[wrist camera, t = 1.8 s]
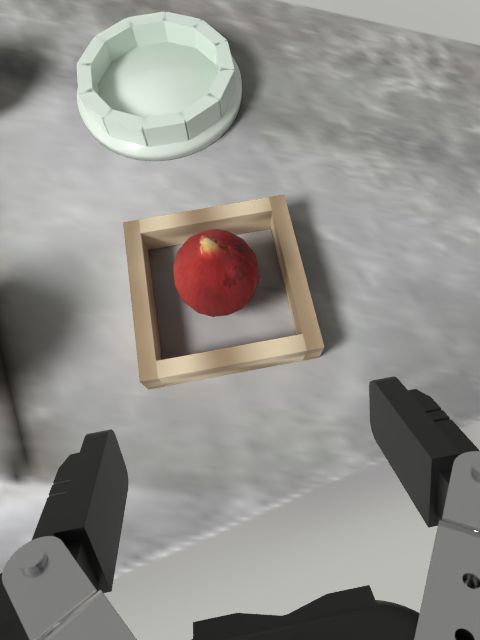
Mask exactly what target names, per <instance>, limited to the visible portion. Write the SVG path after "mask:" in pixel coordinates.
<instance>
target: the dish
mask: <svg viewBox="0 0 480 640" xmlns="http://www.w3.org/2000/svg"><path fill="white" fill-rule="evenodd" d="M77 79H78V90H77V102H78V108H79V111H80V114H81V116H82V119H83V121H84V123H85V125H86V127H87V128H88V130H89V132H90V133H91V134H92V136H93V137H94V138H95V139H96V140H97V141H98V142H99V143H100V144H101V145H103V146H104V147H106V148H107V149H109V150H111V151H113V152H115V153H117V154H119V155H122V156H125V157H128V158H132V159H137V160H145V161H163V160H172V159H176V158H181V157H185V156H188V155H190V154H193V153H196V152H198V151H200V150H202V149H204V148H206V147H207V146H209V145H211V144H212V143H214V142H215V141H216V140H217V139H219V138H220V137H221V136H222V135H223V134H224V133H225V132H226V131H227V130H228V129H229V127H230V126H231V125H232V123H233V122H234V120H235V118H236V117H237V115H238V112H239V109H240V106H241V101H242V80H241V73H240V71H239V68H238V65H237V63H236V61H235V60H234V58H233V57H232V56H231V53H230V49H229V45H228V41H227V40H226V39H225V38H224V37H223V36H221V35H220V34H219V33H218V32H217V31H215V30H214V29H213V28H212V27H211V26H209V25H208V24H207V23H206V22H204V21H203V20H202V21H201V19H197V18H193V17H188V16H184V15H179V14H175V13H170V12H166V14H165V12H159V13H153V14H146V15H140V16H133V17H128V19H127V18H125V19H123V20H122V21H120V22H118V23H117V24H115V25H113V26H111V27H110V28H108V29H106V30H105V31H103V32H101V33H99V34H98V35H96V37H94V38H93V39H92V41H91V43H90V44H89V46H88V47H87V49H86V50H85V52H84V53H83V55H82V56H81V58H80V59H79V61H78V63H77Z"/></svg>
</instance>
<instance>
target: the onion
mask: <svg viewBox="0 0 480 640" xmlns="http://www.w3.org/2000/svg"><path fill="white" fill-rule="evenodd" d="M173 272H174V283H175V287H176V289H177V291H178V293H179V295H180V297H181V298H182V300H183V301H184V302H185V303H186V304H187V305H189V306H190V307H191V308H193V309H194V310H195V311H196V312H198V313H201V314H205V315H209V316H212V317H215V316H224V315H229V314H231V313H234V312H236V311H238V310H240V309H242V308H243V307H244V306H245V305H246V304H247V302H248V301H249V300H250V299H251V298H252V297H253V294H254V292H255V289H256V286H257V284H258V281H259V278H260V276H259V270H258V263H257V258H256V255H255V253H254V252H253V251H252V250H251V248H250V247H249V246H248V244H247V243H246V242H245V241H244V240H243V239H241V238H240V237H238V236H236V235H234V234H232V233H231V232H229V231H225V230H219V229H211V230H205V231H201V232H199V233H197V234H195V235H193V236H191V237H189V238H188V239H187V240H186V242H185V243H184V244H183V245H182V247H181V248H180V249H179V251H178V253H177V256H176V259H175V262H174V266H173Z"/></svg>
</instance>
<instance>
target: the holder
mask: <svg viewBox="0 0 480 640" xmlns="http://www.w3.org/2000/svg"><path fill="white" fill-rule="evenodd" d="M123 225H124V234H125V244H126V253H127V263H128V272H129V282H130V292H131V301H132V311H133V320H134V330H135V339H136V349H137V358H138V368H139V377H140V382H141V383H142V384H143V385H144V386H145V387H146V388H148V389H153V388H158V387H164V386H169V385H174V384H180V383H185V382H190V381H196V380H201V379H206V378H212V377H217V376H222V375H228V374H233V373H238V372H244V371H249V370H254V369H260V368H265V367H270V366H276V365H281V364H286V363H292V362H297V361H302V360H308V359H313V358H318V357H320V355H321V353H322V351H323V349H324V344H323V340H322V336H321V332H320V328H319V325H318V321H317V317H316V313H315V309H314V306H313V302H312V298H311V294H310V291H309V287H308V283H307V279H306V275H305V272H304V268H303V264H302V260H301V256H300V253H299V249H298V245H297V241H296V238H295V234H294V230H293V226H292V222H291V219H290V215H289V211H288V207H287V204H286V200H285V196H284V195H279V196H274V197H268V198H262V199H256V200H250V201H245V202H239V203H233V204H227V205H221V206H216V207H210V208H204V209H198V210H192V211H187V212H181V213H175V214H169V215H163V216H158V217H152V218H146V219H140V220H134V221H129V222H123ZM270 228H271V232H272V236H273V240H274V244H275V248H276V252H277V256H278V260H279V264H280V269H281V273H282V277H283V281H284V285H285V289H286V293H287V297H288V301H289V305H290V310H291V314H292V318H293V322H294V326H295V330H296V334H297V335H294V336H288V337H283V338H277V339H272V340H267V341H261V342H256V343H250V344H245V345H240V346H234V347H229V348H223V349H218V350H213V351H207V352H202V353H196V354H191V355H186V356H180V357H175V358H169V359H164V360H162V356H161V348H160V340H159V332H158V324H157V316H156V308H155V300H154V292H153V284H152V276H151V268H150V260H149V252H148V250H151V249H156V248H162V247H168V246H173V245H179V244H184V243H185V242H186V240H187V239H188V238H189V237H191V236H193V235H195V234H197V233H199V232H201V231H205V230H211V229H219V230H225V231H229V232H231V233H232V234H234V235H236V234H242V233H248V232H253V231H259V230H265V229H270Z"/></svg>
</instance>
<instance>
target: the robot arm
mask: <svg viewBox="0 0 480 640" xmlns="http://www.w3.org/2000/svg"><path fill="white" fill-rule="evenodd" d="M369 397H370V424H371V429H372V433H373V436H374V438H375V440H376V442H377V444H378V445H379V447H380V449H381V450H382V452H383V454H384V455H385V457H386V458H387V460H388V462H389V463H390V465H391V467H392V468H393V470H394V471H395V473H396V475H397V477H398V478H399V480H400V482H401V483H402V485H403V486H404V488H405V490H406V491H407V493H408V495H409V496H410V498H411V500H412V501H413V503H414V505H415V506H416V508H417V509H418V511H419V513H420V514H421V516H422V518H423V519H424V521H425V523H426V524H427V526H428V527H433V526H438V528H437V533H436V537H435V542H434V547H433V552H432V557H431V561H430V566H429V571H428V576H427V581H426V585H425V590H424V595H423V600H422V604H421V609H420V613H418V612H416V611H414V610H412V609H409V608H407V607H405V606H402V605H399V604H396V603H392V602H386V601H380V600H375V598H374V596H373V593H372V591H371V588H370V586H369V585H368V586H363V587H358V588H354V589H349V590H344V591H339V592H334V593H330V594H326V595H324V596H322V597H320V598H318V599H316V600H314V601H312V602H311V603H309V604H307V605H305V606H303V607H301V608H299V609H297V610H295V611H293V612H291V613H290V614H287V615H284V616H275V615H260V614H244V613H235V614H230V615H226V616H221V617H216V618H211V619H206V620H202V621H197V622H193V639H192V640H480V451H479V450H478V449H477V447H476V446H475V445H474V444H473V443H472V442H471V441H470V440H469V439H468V438H467V436H466V435H465V434H464V433H463V432H462V431H461V430H460V429H459V428H458V426H457V425H456V424H455V423H454V422H453V421H452V420H450V419H449V417H448V415H447V414H446V413H445V412H444V411H443V410H441V408H440V407H439V406H438V404H437V403H436V402H435V401H434V400H433V399H432V398H431V397H429V396H428V395H426V394H424V393H422V392H420V391H418V390H417V389H414V390H407V389H406V388H405V387H404V386H403V384H402V383H401V382H400V381H399V380H398V379H397V378H396V377H389V378H384V379H378V380H373V381H371V382H370V384H369ZM53 483H54V485H52V488H51V490H50V493H49V497H48V498H47V501H46V504H45V506H44V509H43V512H42V514H41V517H40V520H39V522H38V525H37V528H36V530H35V533H34V536H33V538H32V541H30V542H28V543H27V544H25V545H23V546H22V547H21V548H19V549H18V550H17V551H16V552H15V553H14V554H13V555H12V556H11V558H10V559H9V560H8V562H7V563H6V565H5V567H4V570H3V573H1V574H0V640H137V639H136V638H135V637H134V635H133V634H132V632H131V631H130V630H129V628H128V627H127V625H126V624H125V623H124V621H123V620H122V618H121V617H120V616H119V614H118V613H117V612H116V610H115V609H114V607H113V606H112V605H111V603H110V602H109V600H108V599H107V597H106V596H105V595H104V593H106V592H111V591H112V584H113V578H114V572H115V566H116V560H117V554H118V547H119V541H120V535H121V529H122V523H123V517H124V510H125V504H126V498H127V492H128V474H127V469H126V466H125V463H124V460H123V457H122V454H121V451H120V448H119V445H118V442H117V439H116V436H115V433H114V431H113V430H106V431H101V432H96V433H90V434H87V435H86V436H85V438H84V441H83V444H82V447H81V450H80V453H76V454H71V455H70V456H69V457H68V458H67V459H66V460H65V462H64V463H63V464H62V465H61V466H60V467H59V469H58V472H57V474H56V477H55V480H54V482H53Z"/></svg>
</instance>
